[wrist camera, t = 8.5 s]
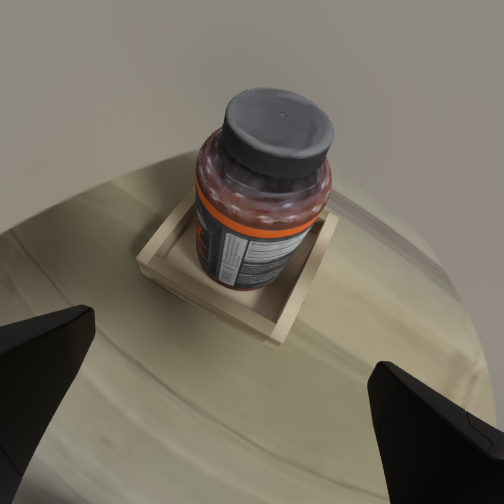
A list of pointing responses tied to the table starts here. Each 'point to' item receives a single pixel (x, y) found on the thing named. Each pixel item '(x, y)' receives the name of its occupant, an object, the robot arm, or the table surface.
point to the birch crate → (226, 300)
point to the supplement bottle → (260, 186)
